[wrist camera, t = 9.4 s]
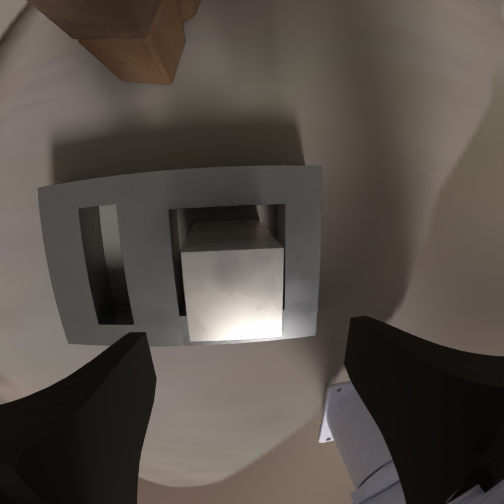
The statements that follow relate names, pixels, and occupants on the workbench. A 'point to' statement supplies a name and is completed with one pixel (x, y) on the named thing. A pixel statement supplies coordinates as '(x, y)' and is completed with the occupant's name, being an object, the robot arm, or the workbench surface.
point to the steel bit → (232, 281)
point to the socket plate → (172, 247)
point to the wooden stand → (126, 33)
